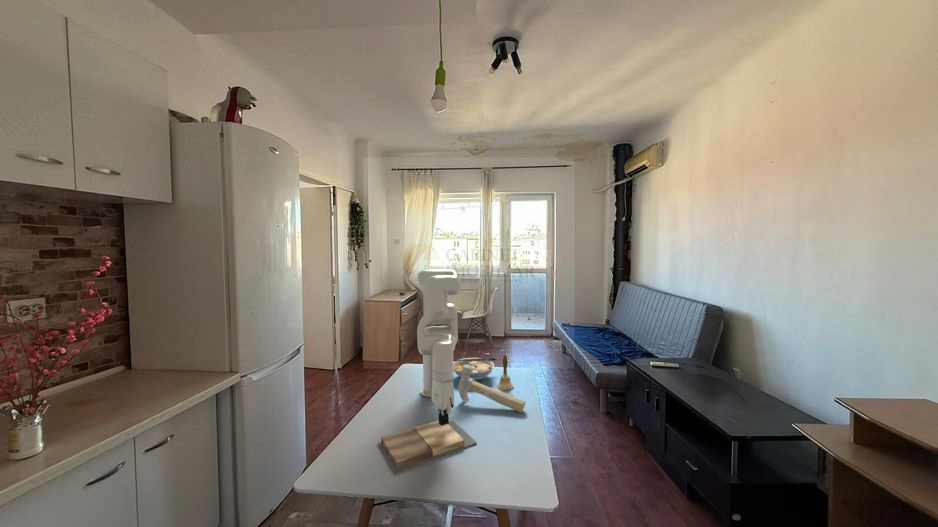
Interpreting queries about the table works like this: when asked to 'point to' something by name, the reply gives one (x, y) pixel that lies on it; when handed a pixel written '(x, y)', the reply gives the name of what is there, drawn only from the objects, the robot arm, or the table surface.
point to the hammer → (486, 391)
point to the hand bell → (505, 377)
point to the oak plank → (439, 437)
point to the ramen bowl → (474, 367)
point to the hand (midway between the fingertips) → (443, 423)
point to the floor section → (414, 447)
